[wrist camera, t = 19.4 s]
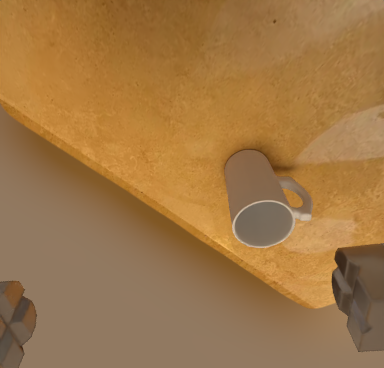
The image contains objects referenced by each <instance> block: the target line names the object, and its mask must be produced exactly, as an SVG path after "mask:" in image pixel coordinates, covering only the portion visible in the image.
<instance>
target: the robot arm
mask: <svg viewBox="0 0 384 368" xmlns="http://www.w3.org/2000/svg"><path fill="white" fill-rule="evenodd" d="M335 262H336V264H337V266H338V267H337V268H336V269H335V270H334V271H333V273H332V288H333V294H334V297H335V300H336V303H337V305H338V307H339V310H341V311H342V312H344V313H345V314H346V315H347V316H348V321H347V328H348V330H349V332H350V334H351V336H352V339H353V341H354V343H355V346H356V348H357V350H358V352H363V351H382V350H384V243H381V244H371V245H362V246H353V247H343V248H338V249H337V251H336V253H335ZM24 290H25V289H24V288H23V286H22V285H21V283H20V282H19V281H5V282H0V368H19V365H20V363H21V361H22V358H23V356H24V351H23V347H22V345H23V344H25V343H26V342H27V341H28V340H29V339H30V338H31V337H32V334H33V332H34V329H35V326H36V317H37V314H36V310H35V306H34V304H33V303H32V301H31V300H29V299H27V298H25V297H24V296H22V295H23V293H24Z"/></svg>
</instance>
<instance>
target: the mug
mask: <svg viewBox="0 0 384 368" xmlns="http://www.w3.org/2000/svg"><path fill="white" fill-rule="evenodd" d="M225 180H226V188H227V194H228V201H229V208H230V215H231V221H232V229H233V233H234V235H235V237H236V238H237V239H238V240H239V241H240V242H241V243H243V244H245V245H247V246H250V247H255V248H265V247H270V246H274V245H276V244H278V243H280V242H282V241H283V240H285V239H286V238H287V237H288V236H289V235H290V234H291V232H292V231H293V229H294V226H295V218H296V219H299V220H302V221H310V220H311V217H312V215H311V212H312V208H313V202H312V198H311V197H310V195H309V194H308V192H307V191H306V190H305V189H304V188H303V187H302V186H301V185H299V184H298V183H297V182H296V181H295V180H294V179H292V178H291V177H280V176H276V175H275V173H274V171H273V169H272V167H271V165H270V163H269V161H268V159H267V158H266V156H265V155H263V154H262V153H261V152H259V151H256V150H243V151H239V152H237V153H235V154H234V155H233V156H231V157H230V158H229V160H228V161H227V163H226V166H225ZM282 188H285V189H289V190H291V191H293V192H295V193H296V194H298V195H299V196H300V198H301V199H302V201H303V206H301V207H299V208H295V207H291V206H290V205H289V203H288V200H287V198H286V196H285V194H284V192H283V190H282Z"/></svg>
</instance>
